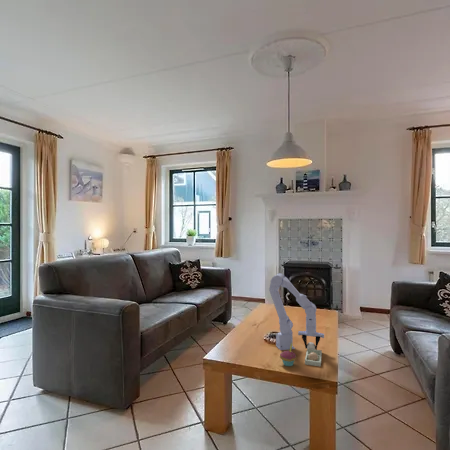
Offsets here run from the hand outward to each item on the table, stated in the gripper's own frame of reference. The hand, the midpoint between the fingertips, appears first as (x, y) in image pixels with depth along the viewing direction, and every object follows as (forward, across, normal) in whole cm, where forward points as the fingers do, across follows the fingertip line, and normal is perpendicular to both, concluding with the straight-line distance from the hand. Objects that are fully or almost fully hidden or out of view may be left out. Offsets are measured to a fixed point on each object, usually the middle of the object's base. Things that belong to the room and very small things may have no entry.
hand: (311, 348), depth 181 cm
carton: (+1, -2, +12) cm, 12 cm away
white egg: (+1, 0, 0) cm, 1 cm away
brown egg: (+1, -2, +15) cm, 15 cm away
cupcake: (+2, +10, +22) cm, 24 cm away
